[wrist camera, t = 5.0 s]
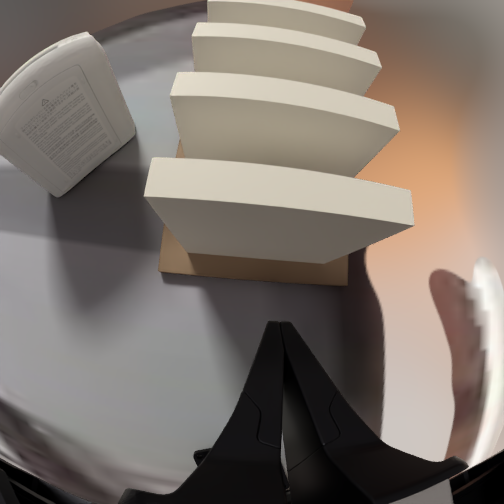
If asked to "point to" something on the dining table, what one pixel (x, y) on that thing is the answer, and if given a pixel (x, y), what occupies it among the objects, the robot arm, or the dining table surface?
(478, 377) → the dining table surface
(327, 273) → the walnut board
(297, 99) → the domino
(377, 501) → the robot arm
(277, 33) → the domino
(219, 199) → the domino
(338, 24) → the domino
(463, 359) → the dining table surface
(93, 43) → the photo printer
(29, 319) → the dining table surface
